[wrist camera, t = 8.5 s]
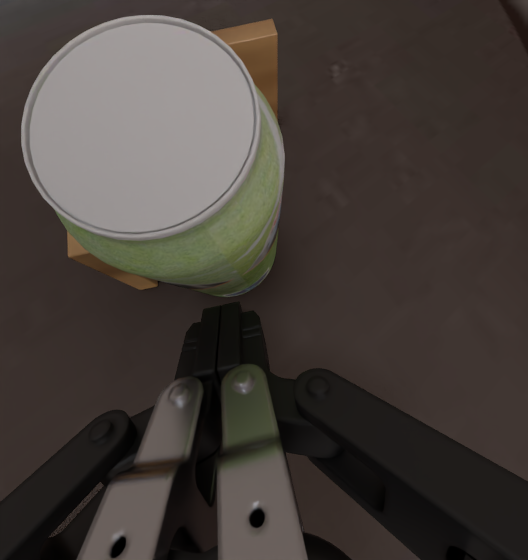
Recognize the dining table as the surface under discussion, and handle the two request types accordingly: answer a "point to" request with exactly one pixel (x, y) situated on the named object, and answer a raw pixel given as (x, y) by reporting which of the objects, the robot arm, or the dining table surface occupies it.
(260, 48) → the shelf corner
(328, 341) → the dining table surface
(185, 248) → the beverage can
